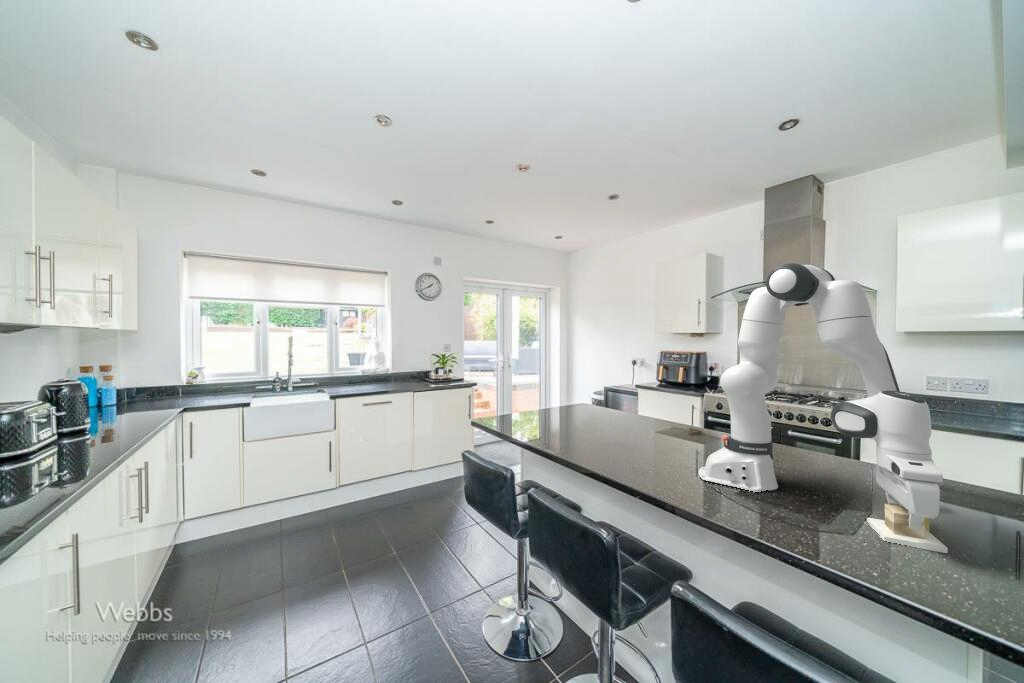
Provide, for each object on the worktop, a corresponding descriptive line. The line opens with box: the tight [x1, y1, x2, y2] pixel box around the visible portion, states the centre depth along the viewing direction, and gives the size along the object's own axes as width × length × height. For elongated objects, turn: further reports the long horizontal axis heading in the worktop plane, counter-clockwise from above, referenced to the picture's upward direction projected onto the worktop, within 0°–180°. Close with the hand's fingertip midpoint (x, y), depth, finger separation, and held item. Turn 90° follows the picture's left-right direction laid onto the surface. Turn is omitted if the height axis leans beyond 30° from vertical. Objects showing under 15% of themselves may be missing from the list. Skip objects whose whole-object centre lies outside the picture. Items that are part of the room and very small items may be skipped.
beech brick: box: [884, 503, 925, 539], centre depth 85 cm, size 5×5×5 cm
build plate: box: [866, 517, 949, 554], centre depth 85 cm, size 10×10×1 cm
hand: (903, 519), depth 85 cm, fingers open, 8 cm apart
